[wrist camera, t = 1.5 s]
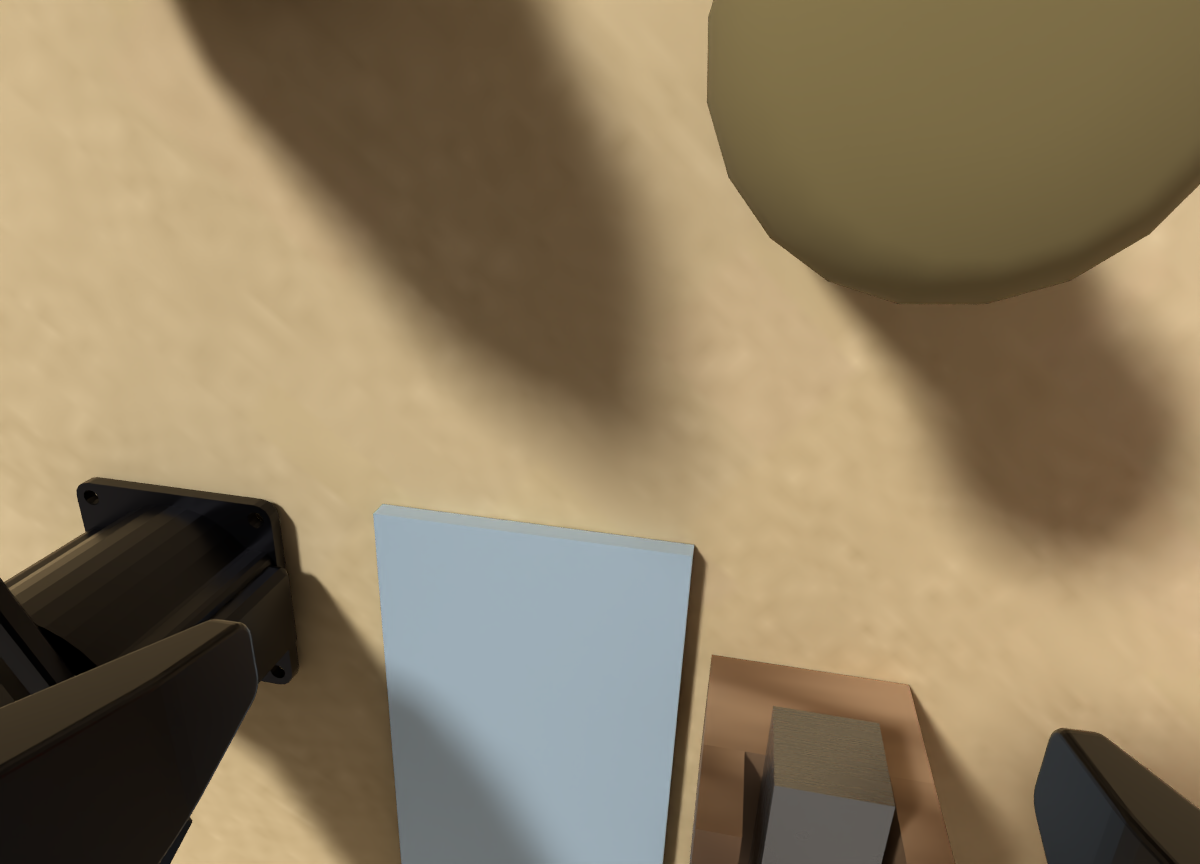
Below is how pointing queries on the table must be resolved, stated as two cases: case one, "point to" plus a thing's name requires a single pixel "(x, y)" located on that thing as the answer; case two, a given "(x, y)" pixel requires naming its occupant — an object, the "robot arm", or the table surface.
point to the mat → (530, 687)
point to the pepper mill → (956, 135)
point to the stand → (740, 742)
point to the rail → (822, 792)
